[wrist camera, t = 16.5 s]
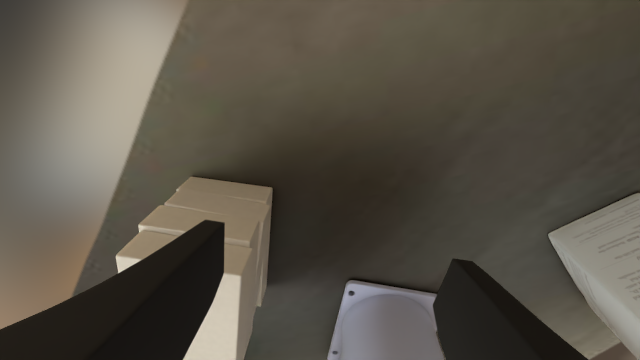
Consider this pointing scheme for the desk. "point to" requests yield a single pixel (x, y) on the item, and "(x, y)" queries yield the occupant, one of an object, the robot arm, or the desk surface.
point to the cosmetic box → (607, 265)
